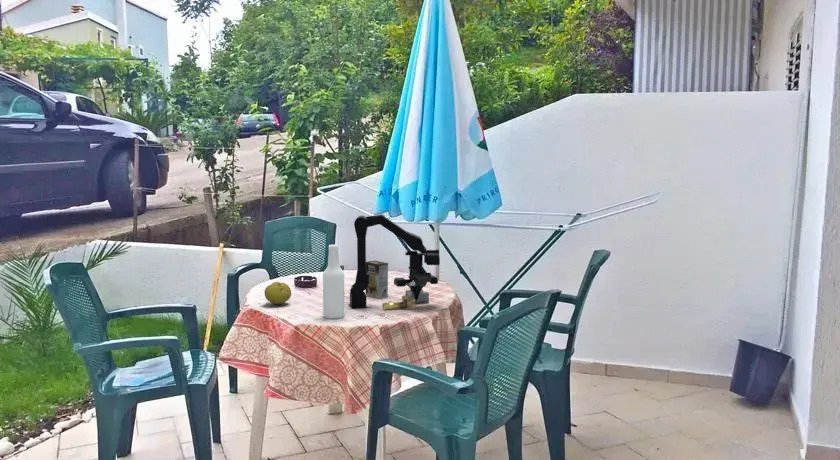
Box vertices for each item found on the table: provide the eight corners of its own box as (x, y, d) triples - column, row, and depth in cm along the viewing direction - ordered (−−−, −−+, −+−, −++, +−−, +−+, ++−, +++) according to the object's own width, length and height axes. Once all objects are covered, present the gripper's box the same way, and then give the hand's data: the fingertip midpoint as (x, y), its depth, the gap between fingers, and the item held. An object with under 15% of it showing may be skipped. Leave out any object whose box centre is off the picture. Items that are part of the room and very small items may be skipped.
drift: (404, 309, 318) (404, 303, 318) (402, 307, 321) (402, 302, 320) (414, 308, 320) (414, 302, 320) (412, 306, 322) (412, 301, 322)
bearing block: (408, 309, 316) (408, 299, 316) (402, 305, 324) (402, 295, 323) (415, 309, 317) (415, 299, 317) (408, 305, 325) (408, 295, 324)
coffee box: (364, 295, 342) (364, 261, 340) (374, 293, 347) (374, 260, 344) (378, 299, 336) (378, 264, 333) (388, 296, 340) (388, 262, 338)
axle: (384, 311, 315) (384, 304, 314) (382, 309, 318) (382, 302, 317) (404, 309, 318) (404, 302, 318) (401, 307, 321) (401, 301, 320)
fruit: (262, 303, 326) (261, 281, 325) (288, 300, 331) (287, 279, 330) (267, 308, 316) (266, 286, 315) (294, 306, 321) (293, 283, 319)
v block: (412, 304, 326) (412, 294, 325) (405, 300, 334) (405, 289, 333) (428, 303, 329) (429, 292, 328) (421, 298, 337) (421, 288, 336)
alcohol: (319, 317, 302) (318, 246, 298) (329, 313, 310) (328, 242, 306) (338, 320, 299) (338, 247, 294) (348, 315, 307) (347, 244, 303)
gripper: (402, 269, 308) (402, 306, 310) (443, 267, 315) (442, 302, 317) (393, 265, 318) (393, 300, 321) (433, 262, 325) (432, 296, 327)
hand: (415, 300), depth 321 cm, fingers closed
